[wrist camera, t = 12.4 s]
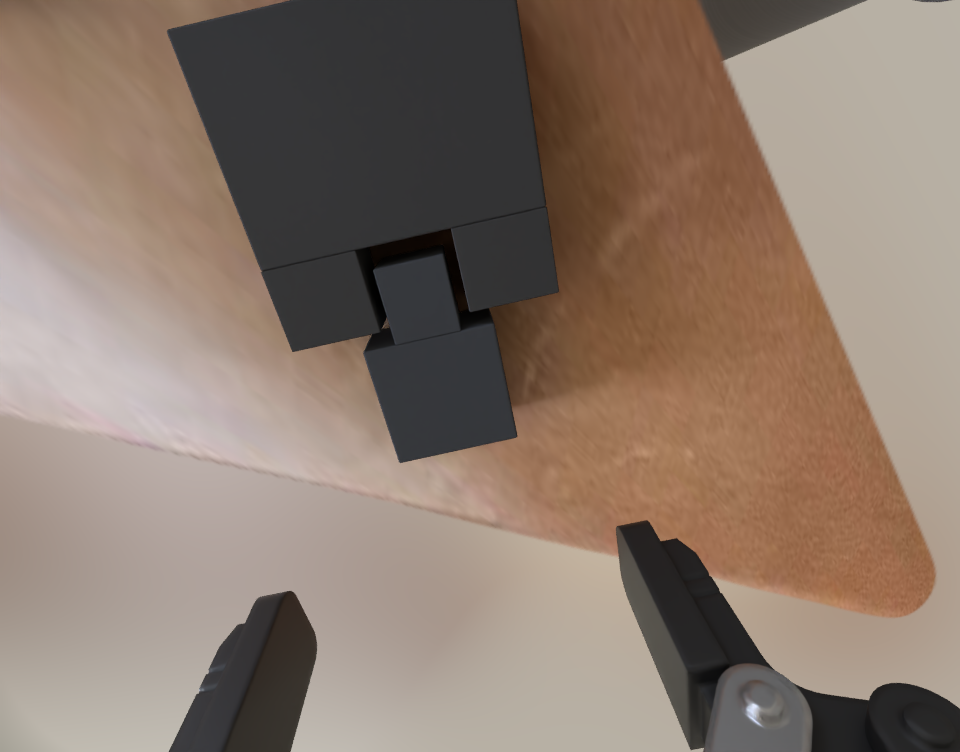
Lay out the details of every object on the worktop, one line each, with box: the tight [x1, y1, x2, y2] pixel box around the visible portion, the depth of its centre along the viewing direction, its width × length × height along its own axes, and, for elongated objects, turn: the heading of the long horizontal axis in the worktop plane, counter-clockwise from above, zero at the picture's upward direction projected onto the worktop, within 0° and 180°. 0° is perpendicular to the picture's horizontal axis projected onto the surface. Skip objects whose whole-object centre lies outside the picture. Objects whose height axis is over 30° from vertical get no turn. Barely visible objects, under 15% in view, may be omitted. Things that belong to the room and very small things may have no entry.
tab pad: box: [363, 245, 517, 463], centre depth 23 cm, size 9×6×3 cm, turn 12°
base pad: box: [167, 0, 559, 352], centre depth 20 cm, size 12×12×3 cm
